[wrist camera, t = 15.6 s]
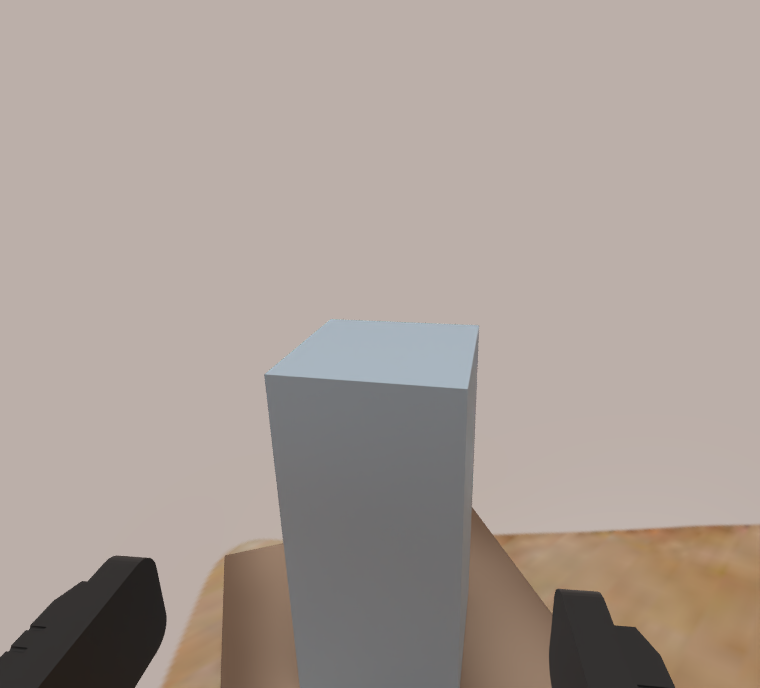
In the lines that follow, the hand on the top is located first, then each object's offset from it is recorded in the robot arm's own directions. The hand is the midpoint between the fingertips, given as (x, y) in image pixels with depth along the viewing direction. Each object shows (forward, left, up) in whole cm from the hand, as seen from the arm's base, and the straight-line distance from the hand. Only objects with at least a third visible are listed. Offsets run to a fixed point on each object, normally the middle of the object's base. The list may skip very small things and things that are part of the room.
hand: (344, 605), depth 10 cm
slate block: (0, -7, -9) cm, 11 cm away
